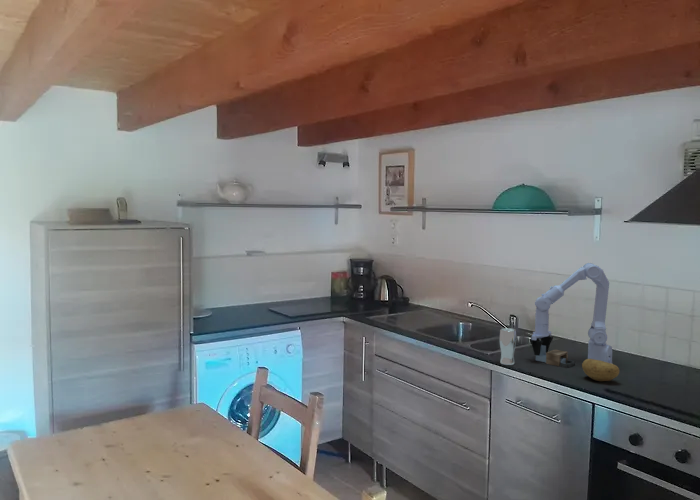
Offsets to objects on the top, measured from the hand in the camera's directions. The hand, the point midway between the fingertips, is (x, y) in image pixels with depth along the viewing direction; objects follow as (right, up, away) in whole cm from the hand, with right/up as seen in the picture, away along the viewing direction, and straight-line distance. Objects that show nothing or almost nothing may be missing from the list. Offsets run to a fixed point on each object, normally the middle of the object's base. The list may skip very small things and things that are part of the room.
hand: (541, 353), depth 260 cm
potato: (+13, -5, -31) cm, 34 cm away
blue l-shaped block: (+3, -3, -3) cm, 5 cm away
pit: (+9, -4, -9) cm, 13 cm away
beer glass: (-17, -3, -6) cm, 18 cm away
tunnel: (+5, -3, -5) cm, 8 cm away
